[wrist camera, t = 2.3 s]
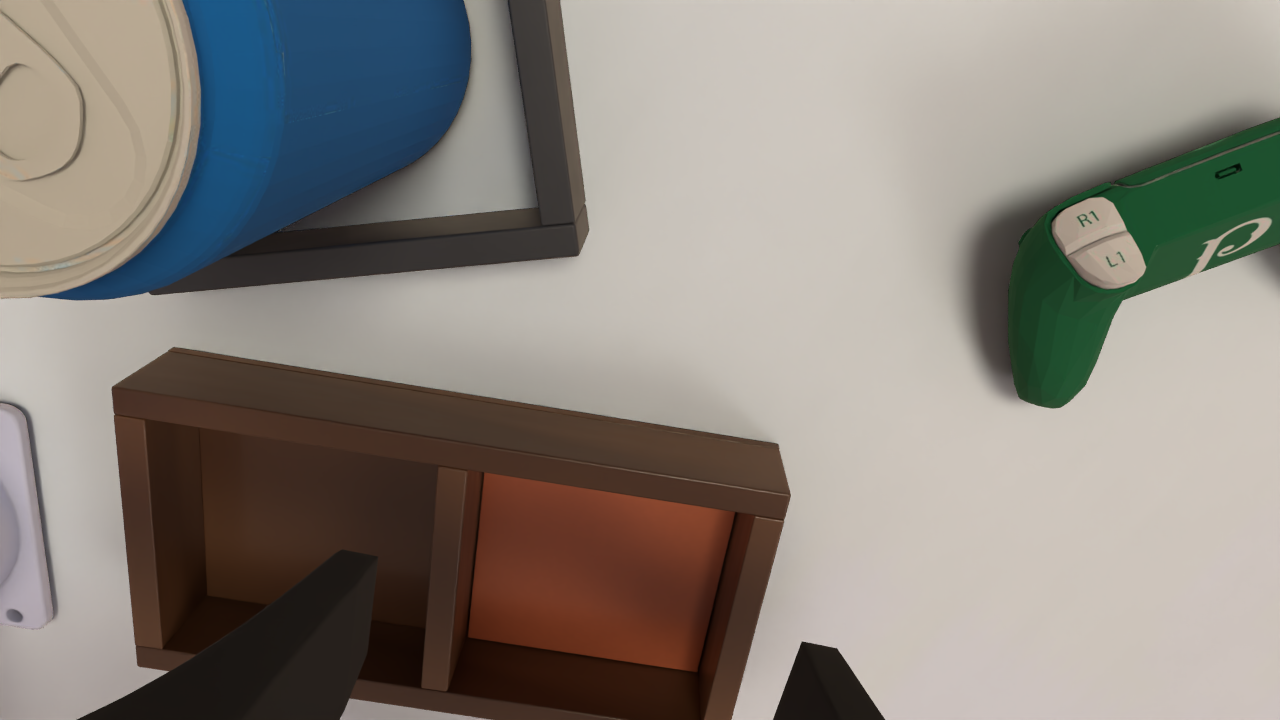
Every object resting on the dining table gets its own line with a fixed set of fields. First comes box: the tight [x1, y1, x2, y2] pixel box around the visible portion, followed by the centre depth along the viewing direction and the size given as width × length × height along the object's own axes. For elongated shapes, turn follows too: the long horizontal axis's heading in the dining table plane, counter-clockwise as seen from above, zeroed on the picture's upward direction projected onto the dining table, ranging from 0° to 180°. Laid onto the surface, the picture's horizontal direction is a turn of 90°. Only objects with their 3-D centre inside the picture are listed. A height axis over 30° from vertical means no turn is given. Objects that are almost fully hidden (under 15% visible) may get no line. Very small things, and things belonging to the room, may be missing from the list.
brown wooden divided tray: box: [112, 347, 791, 720], centre depth 24 cm, size 9×17×3 cm, turn 81°
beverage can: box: [0, 0, 471, 300], centre depth 14 cm, size 6×6×12 cm
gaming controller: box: [1008, 118, 1280, 408], centre depth 19 cm, size 9×4×6 cm
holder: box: [149, 0, 589, 295], centre depth 19 cm, size 11×11×2 cm
